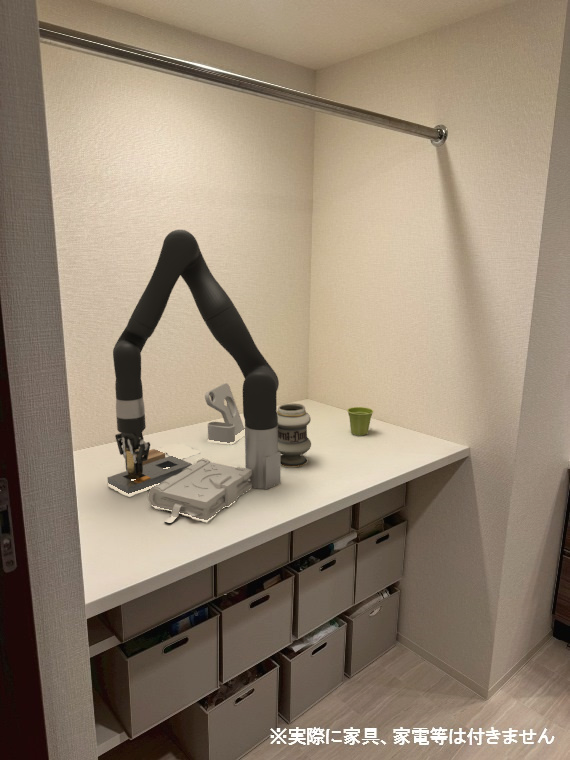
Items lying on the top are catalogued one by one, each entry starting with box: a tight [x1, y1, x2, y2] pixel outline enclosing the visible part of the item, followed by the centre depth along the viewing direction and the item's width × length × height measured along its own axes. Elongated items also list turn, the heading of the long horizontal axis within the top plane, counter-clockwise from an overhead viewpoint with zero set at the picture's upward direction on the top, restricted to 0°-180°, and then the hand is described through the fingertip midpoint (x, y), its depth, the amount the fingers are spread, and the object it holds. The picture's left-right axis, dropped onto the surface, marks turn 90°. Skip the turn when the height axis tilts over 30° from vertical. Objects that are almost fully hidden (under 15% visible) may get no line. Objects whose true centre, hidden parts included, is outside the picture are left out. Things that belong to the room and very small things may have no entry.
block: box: [142, 448, 166, 465], centre depth 169 cm, size 6×10×3 cm, turn 139°
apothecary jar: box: [277, 402, 312, 468], centre depth 171 cm, size 12×12×18 cm
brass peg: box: [126, 449, 141, 479], centre depth 153 cm, size 4×4×8 cm
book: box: [147, 457, 253, 520], centre depth 144 cm, size 19×28×8 cm
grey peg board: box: [107, 455, 193, 494], centre depth 158 cm, size 10×22×3 cm, turn 139°
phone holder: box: [204, 382, 245, 443], centre depth 194 cm, size 17×10×18 cm, turn 160°
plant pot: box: [346, 406, 374, 436], centre depth 198 cm, size 9×9×9 cm
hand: (134, 471), depth 153 cm, fingers closed on brass peg, 3 cm apart
